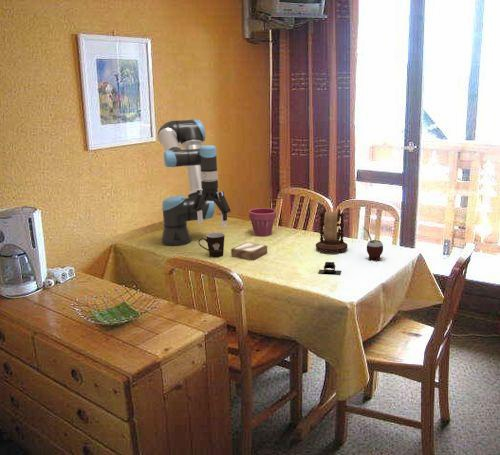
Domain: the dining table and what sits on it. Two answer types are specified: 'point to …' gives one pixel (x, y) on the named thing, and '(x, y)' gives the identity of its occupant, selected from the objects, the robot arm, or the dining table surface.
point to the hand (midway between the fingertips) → (212, 225)
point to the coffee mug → (214, 244)
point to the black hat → (329, 272)
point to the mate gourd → (374, 248)
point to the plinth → (249, 251)
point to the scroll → (331, 232)
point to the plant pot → (262, 220)
